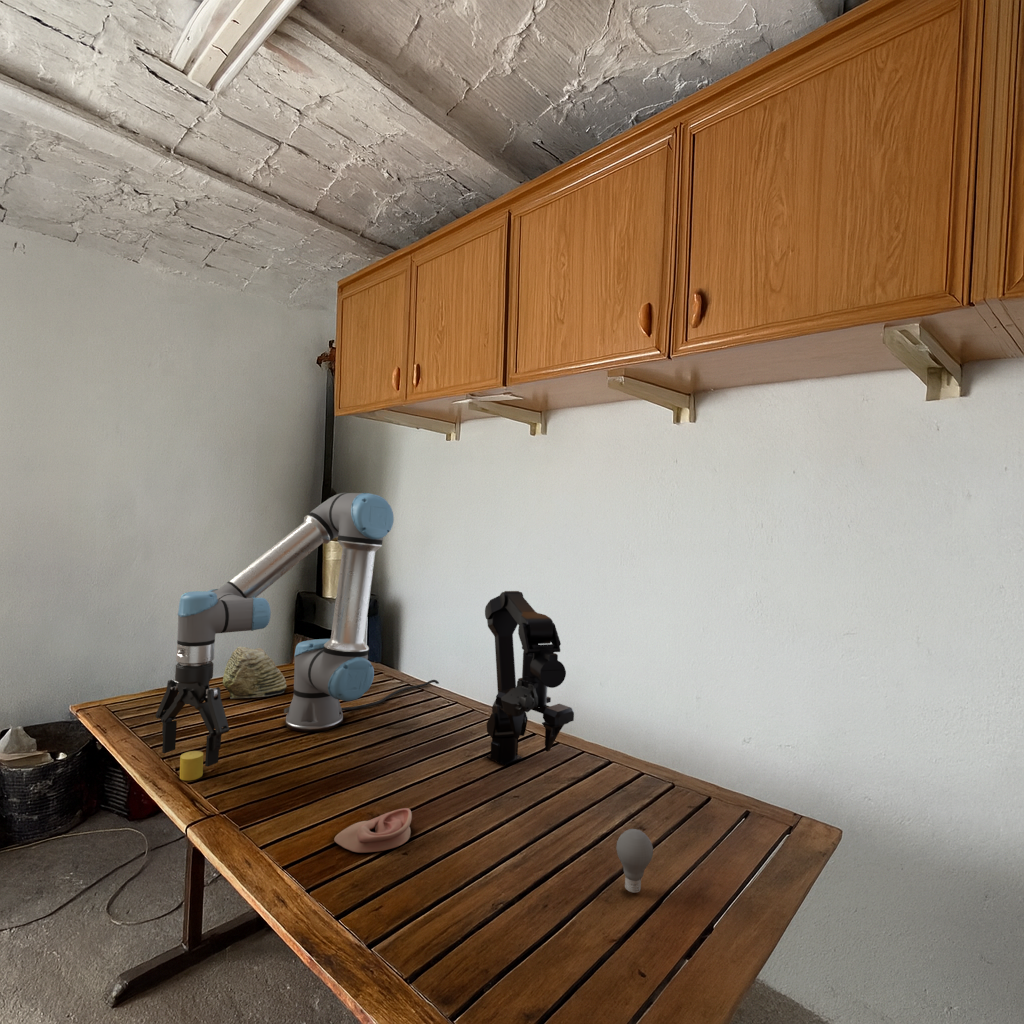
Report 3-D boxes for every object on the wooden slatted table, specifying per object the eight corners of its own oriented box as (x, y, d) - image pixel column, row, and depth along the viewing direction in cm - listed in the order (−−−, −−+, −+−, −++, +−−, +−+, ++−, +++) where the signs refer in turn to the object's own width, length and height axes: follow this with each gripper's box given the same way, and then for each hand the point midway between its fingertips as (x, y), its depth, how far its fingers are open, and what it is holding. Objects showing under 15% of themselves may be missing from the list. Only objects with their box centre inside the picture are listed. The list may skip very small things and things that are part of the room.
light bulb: (610, 879, 108) (613, 822, 108) (644, 879, 109) (647, 822, 109) (619, 902, 102) (622, 840, 102) (655, 901, 103) (658, 840, 103)
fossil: (218, 695, 195) (220, 647, 195) (278, 685, 208) (279, 640, 207) (228, 703, 189) (230, 653, 188) (289, 692, 201) (290, 645, 201)
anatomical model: (326, 826, 114) (355, 797, 125) (325, 847, 114) (354, 817, 126) (396, 837, 112) (418, 806, 123) (395, 859, 112) (417, 827, 123)
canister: (195, 769, 144) (195, 749, 144) (207, 775, 141) (207, 754, 141) (175, 777, 140) (175, 755, 140) (187, 782, 138) (188, 760, 137)
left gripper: (141, 656, 142) (136, 751, 142) (221, 674, 132) (215, 776, 132) (171, 650, 149) (166, 740, 149) (249, 667, 138) (244, 763, 139)
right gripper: (479, 671, 140) (476, 740, 141) (542, 691, 127) (539, 768, 128) (514, 663, 148) (511, 729, 149) (577, 681, 135) (573, 754, 136)
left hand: (189, 757), depth 140 cm, fingers open, 13 cm apart
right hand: (531, 744), depth 140 cm, fingers open, 9 cm apart
